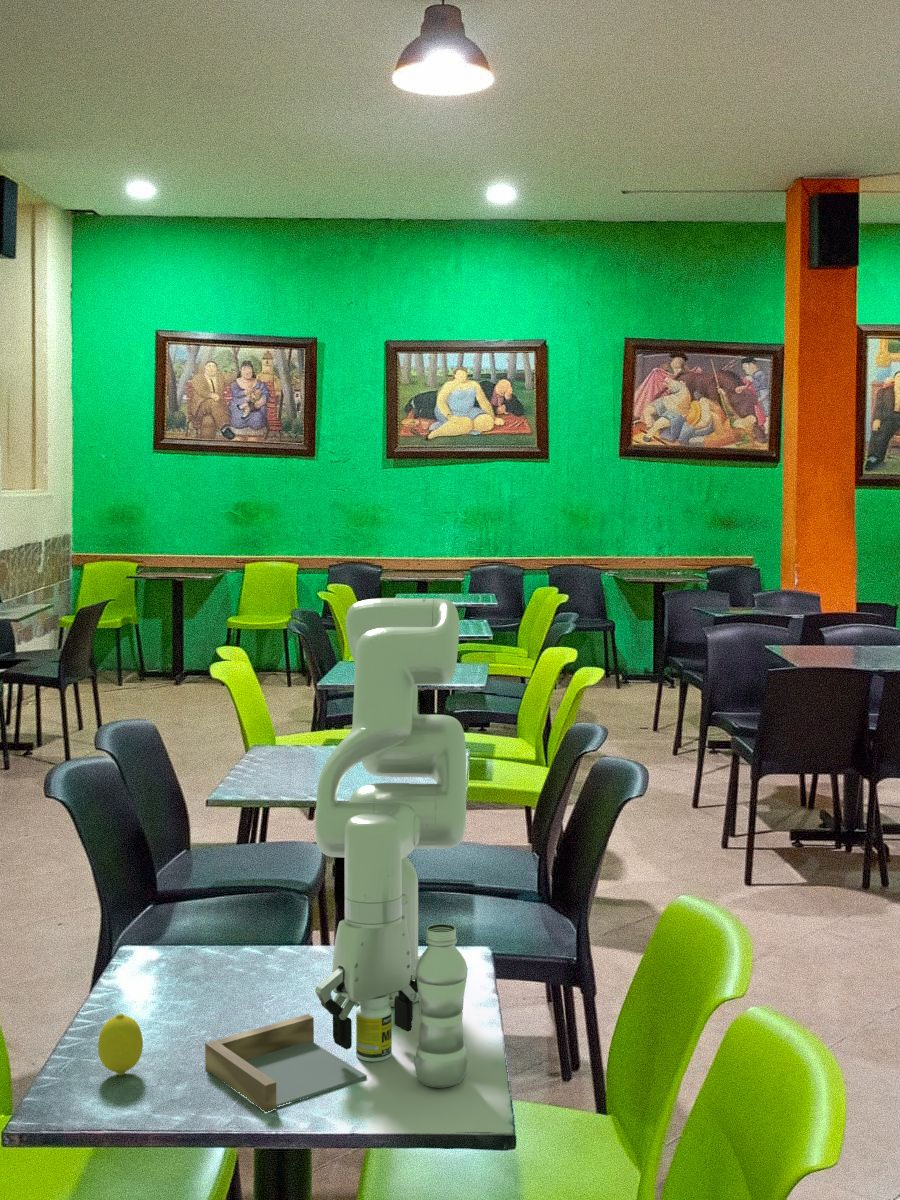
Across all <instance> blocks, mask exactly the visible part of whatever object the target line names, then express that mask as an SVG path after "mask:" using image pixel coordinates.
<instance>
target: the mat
mask: <svg viewBox="0 0 900 1200" xmlns="http://www.w3.org/2000/svg"><path fill="white" fill-rule="evenodd" d="M245 1061H246V1062H248V1063H249V1064H251V1065H252V1066H254V1067H255V1068H256V1069H258V1070H259V1071H261V1072H262V1073H264V1074H265V1075H267V1076H268V1077H269V1078H271V1079H272V1080H274V1081H275V1082H276V1104H277V1106H279V1105H283V1104H286V1103H289V1102H293V1101H297V1102H299V1101H298V1100H300V1099H303V1098H306V1099H308V1098H307V1097H309V1098H312V1097H314V1095H315V1096H317V1094H318V1095H321V1094H324V1093H327V1092H330V1091H333V1090H336V1089H338V1088H342V1087H345V1086H348V1085H352V1084H354V1083H357V1082H360V1081H363V1080H365V1079H367V1078H368V1075H367V1074H365V1073H364V1072H362V1071H361V1070H359V1069H357V1068H355V1067H354V1066H352V1065H351V1064H349V1063H348V1062H345V1060H343V1059H341V1058H339V1057H337V1056H336V1055H334V1054H333V1053H331V1052H329V1051H328V1050H326V1049H325V1048H323V1047H321V1046H320V1045H318V1044H316V1043H315V1042H312V1041H308V1042H305V1043H301V1044H298V1045H295V1046H291V1047H288V1048H284V1049H281V1050H278V1051H274V1052H271V1053H268V1054H264V1055H261V1056H258V1057H254V1058H251V1059H248V1060H245ZM311 1096H312V1097H311ZM303 1100H304V1099H303ZM300 1101H301V1100H300Z"/></svg>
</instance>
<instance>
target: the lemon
mask: <svg viewBox="0 0 900 1200" xmlns="http://www.w3.org/2000/svg"><path fill="white" fill-rule="evenodd" d="M143 1041H144V1040H143V1034H142V1030H141V1027H140V1025H139V1024H138V1022H137V1021H136V1020H135V1019H133V1018H132V1017H130V1016H128V1015H124V1014H123V1013H118V1014H116V1016H113V1017H112V1018H110V1019H108V1020H107V1021H106V1022H105V1023H104V1024H103V1025H102V1027H101V1030H100V1032H99V1037H98V1044H97V1045H98V1046H97V1048H98V1056H99V1060H100V1061H101V1062H102V1063H101V1064H103V1066H104V1067H105V1068H106V1069H107V1070H108V1071H111V1072H115V1073H116V1074H117V1075H119V1076H123V1075H124V1074H125V1073H126V1072H127V1071H129V1070H131V1069H133V1067H135V1066H136V1065H137V1064H138V1062H139V1060H140V1059H141V1056H142V1053H143V1047H144V1046H143V1045H144V1043H143Z"/></svg>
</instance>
